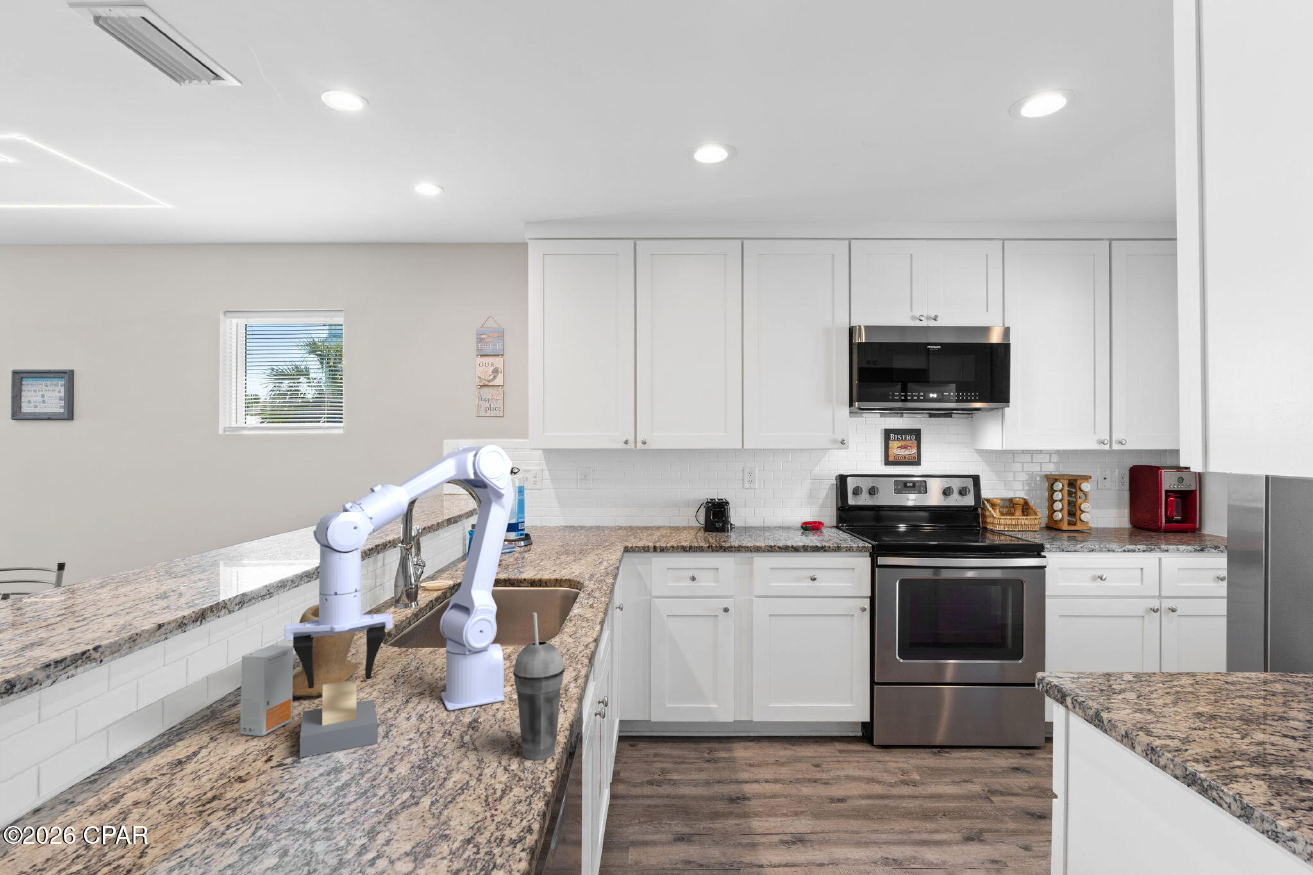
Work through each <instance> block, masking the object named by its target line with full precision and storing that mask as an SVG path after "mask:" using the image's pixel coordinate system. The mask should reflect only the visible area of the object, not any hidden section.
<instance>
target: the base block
mask: <svg viewBox="0 0 1313 875" xmlns="http://www.w3.org/2000/svg"><path fill="white" fill-rule="evenodd" d="M375 704H376V703H375V700H374V699H370V700H364V701H359V702H357V701H356V720H351V721H345V722H340V723H334V724H328V725H323V726H322V707H320V708H315V709H310V710H304V711H303V710H302V717H301V718H302V719H301V723H300V724H301V726H300V732H299V759H303V758H302V757H304V758H306V757H305V756H309V757H311V756H310V755H314V754H320V755H322V754H321V753H325V754H327V753H326V752H330V753H332V752H331V751H335V752H338V751H337V750H340V751H343V750H342V749H345V750H350V749H355V748H360V747H364V746H365V747H366V746H370V745H375V744H379V743H378V741H379V738H378V736H379V732H378V731H379V729H378V728H379V726H378V725H379V722H378V721H379V720H378V716H377V709H376V705H375ZM314 756H315V755H314Z"/></svg>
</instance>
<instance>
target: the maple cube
mask: <svg viewBox="0 0 1313 875" xmlns="http://www.w3.org/2000/svg"><path fill="white" fill-rule="evenodd" d="M357 690H358V689H357V681H356V679H351V680H346V681H344V682H337V683H330V684H324V685H323V694H322V704H321V705H322V707H321V708H322V726H323V725H328V724H334V723H340V722H345V721H351V720H356V702H357V692H358V691H357Z"/></svg>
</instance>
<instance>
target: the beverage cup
mask: <svg viewBox="0 0 1313 875" xmlns="http://www.w3.org/2000/svg"><path fill="white" fill-rule="evenodd" d="M532 615H533V616H532V618H533V631H534V632H533V635H534V641H533V642H531V643H527V645H525V646H524V647H523V648H522V649H521V650H520V651H519V653H518V655H517V656H516V659H515V663H514V668H513V672H512V675H513V677H514V678H513V680H514V684H515V688H516V693H517V705H518V716H519V730H520V741H521V746H522V749H521V750H522V756H523V757H524V758H525V759H526V760H530V761H541V760H547V759H549V758H551V757H553V756H554V755H555V754H556V745H557V738H558V737H557V736H558V728H559V714H560V713H559V712H560V703H561V702H560V700H561V688H562V685H563V680H564V673H565V665H564V659H563V657H562V656H563V655H562V654H561V652H560V650H559V649H558V648H557V647H556V646H555V645H553V644H552V643H551V642H548V641H545V640H539V631H538V630H539V629H538V628H539V627H538V614H537V612H532Z"/></svg>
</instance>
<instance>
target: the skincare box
mask: <svg viewBox="0 0 1313 875" xmlns="http://www.w3.org/2000/svg"><path fill="white" fill-rule="evenodd" d="M293 676H294V648H293V645H279V644H271V645H269V646H266V647H263V648H258V649H256V650H255V651H252V652H249V653H247V654H244V655H242V656H241V683H240V687H241V688H240V690H241V691H240V719H239V720H240V723H239V724H240V726H239V727H240V728H239V729H240V731H239V734H240V735H245V736H256V737H264V736H266V735H267V734H269V733H271V732H272V731H275V730H277V729H279V728H280V727H282V726H284V725H286V724H289V723H291V722H292V721H293V696H292V691H293Z"/></svg>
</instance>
